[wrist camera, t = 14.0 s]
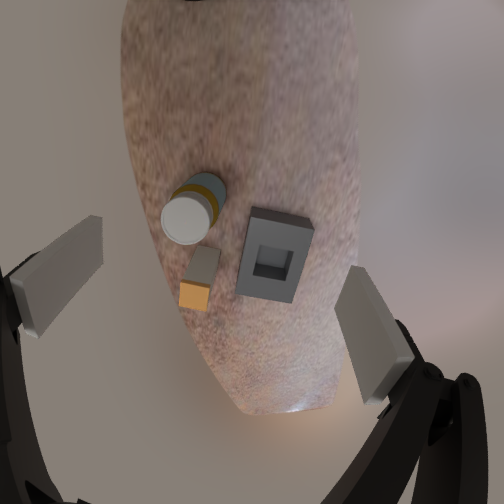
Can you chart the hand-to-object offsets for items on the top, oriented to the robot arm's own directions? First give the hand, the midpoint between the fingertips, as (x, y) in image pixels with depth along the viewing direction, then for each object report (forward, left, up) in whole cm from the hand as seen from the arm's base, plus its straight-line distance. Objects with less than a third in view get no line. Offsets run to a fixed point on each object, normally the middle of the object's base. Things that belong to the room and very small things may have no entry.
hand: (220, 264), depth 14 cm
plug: (+18, -4, -35) cm, 39 cm away
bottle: (+6, -6, -35) cm, 36 cm away
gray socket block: (+14, +7, -35) cm, 38 cm away
